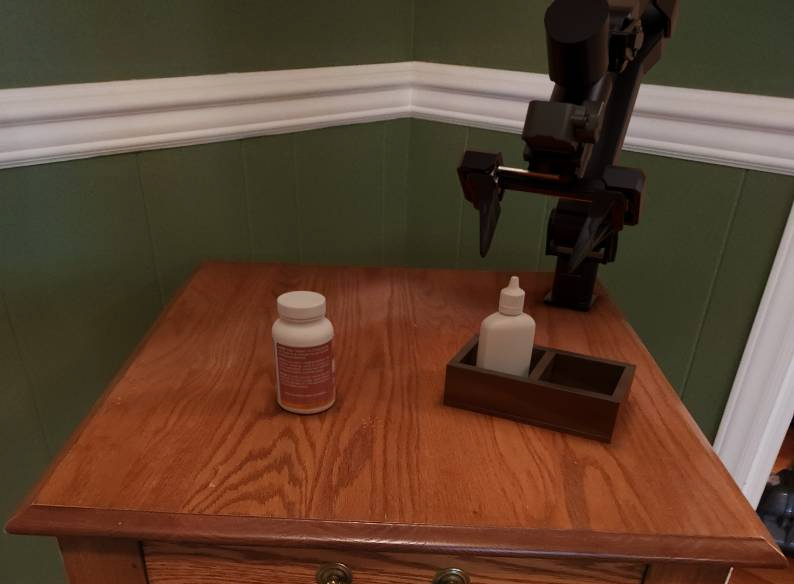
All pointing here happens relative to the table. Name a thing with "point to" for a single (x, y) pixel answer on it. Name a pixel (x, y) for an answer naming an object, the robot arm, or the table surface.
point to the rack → (545, 390)
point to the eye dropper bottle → (507, 335)
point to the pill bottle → (303, 353)
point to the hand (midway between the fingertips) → (524, 263)
